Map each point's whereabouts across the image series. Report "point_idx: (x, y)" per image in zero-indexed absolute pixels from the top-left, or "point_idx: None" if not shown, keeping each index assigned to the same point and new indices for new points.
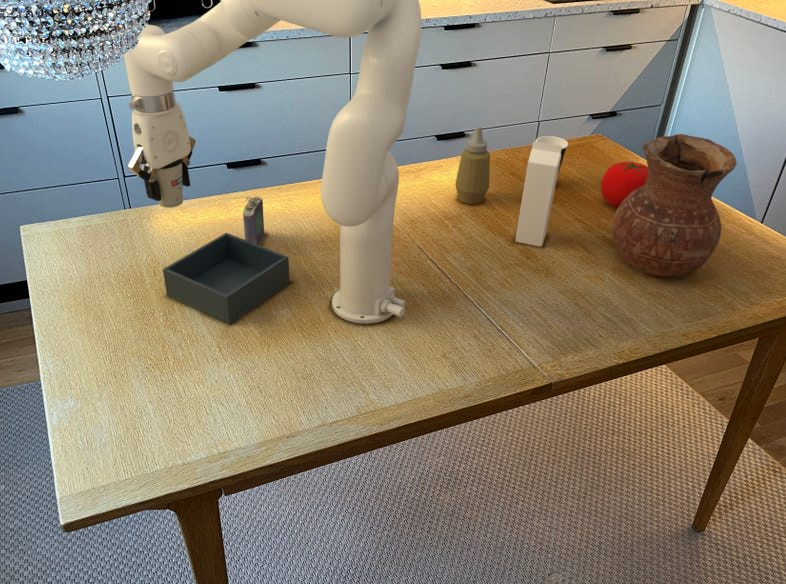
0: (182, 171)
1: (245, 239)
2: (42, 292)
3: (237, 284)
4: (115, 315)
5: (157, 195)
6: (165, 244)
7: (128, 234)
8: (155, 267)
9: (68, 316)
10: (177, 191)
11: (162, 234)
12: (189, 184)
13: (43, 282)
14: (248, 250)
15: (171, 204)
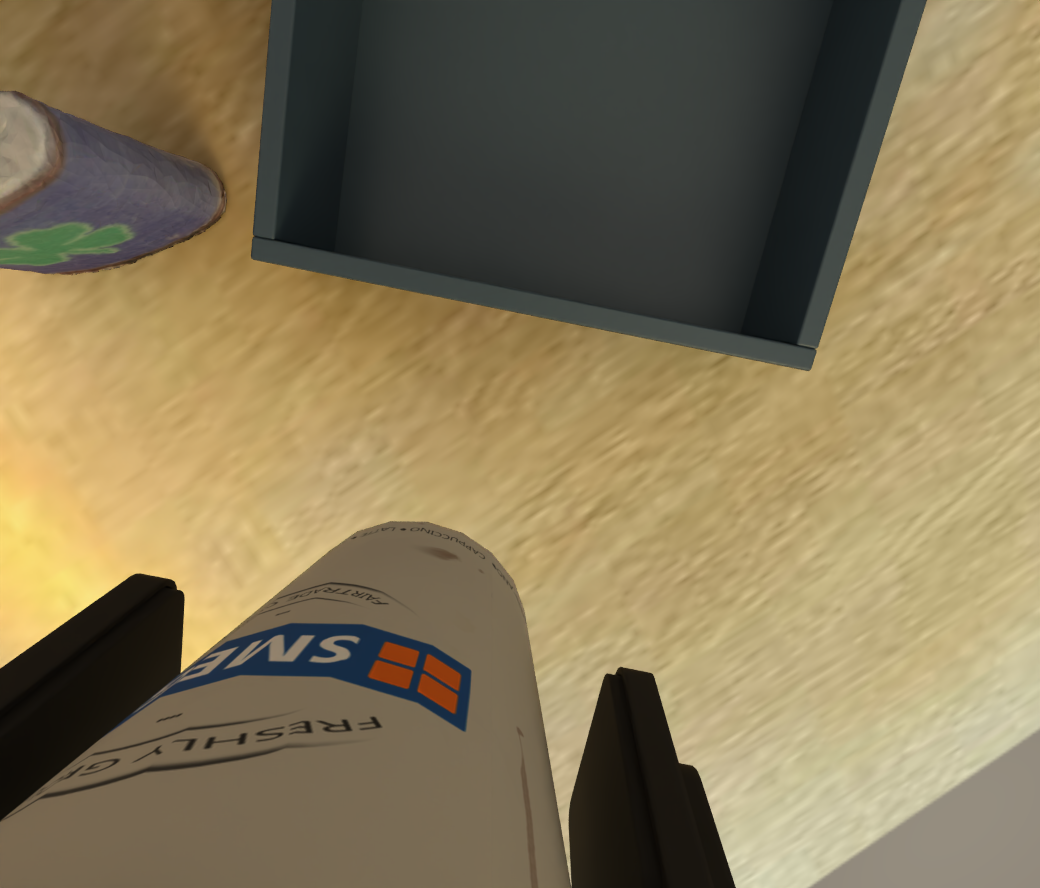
0: (30, 769)
1: (178, 204)
2: (892, 812)
3: (539, 55)
4: (963, 470)
5: (660, 728)
6: None
7: None
8: (552, 538)
9: (1022, 633)
10: (408, 589)
11: None
12: (143, 580)
13: (826, 848)
14: (315, 52)
15: (498, 577)
